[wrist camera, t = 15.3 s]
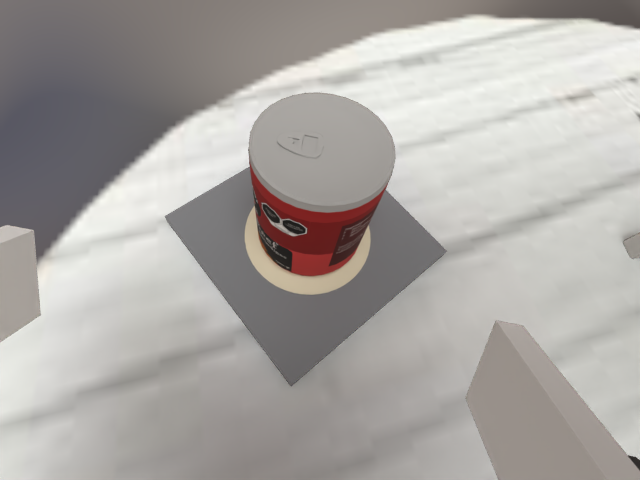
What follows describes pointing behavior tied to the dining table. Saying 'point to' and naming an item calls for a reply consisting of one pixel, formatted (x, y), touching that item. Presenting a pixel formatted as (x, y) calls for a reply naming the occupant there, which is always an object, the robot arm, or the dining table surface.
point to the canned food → (317, 179)
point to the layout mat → (296, 290)
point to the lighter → (633, 246)
